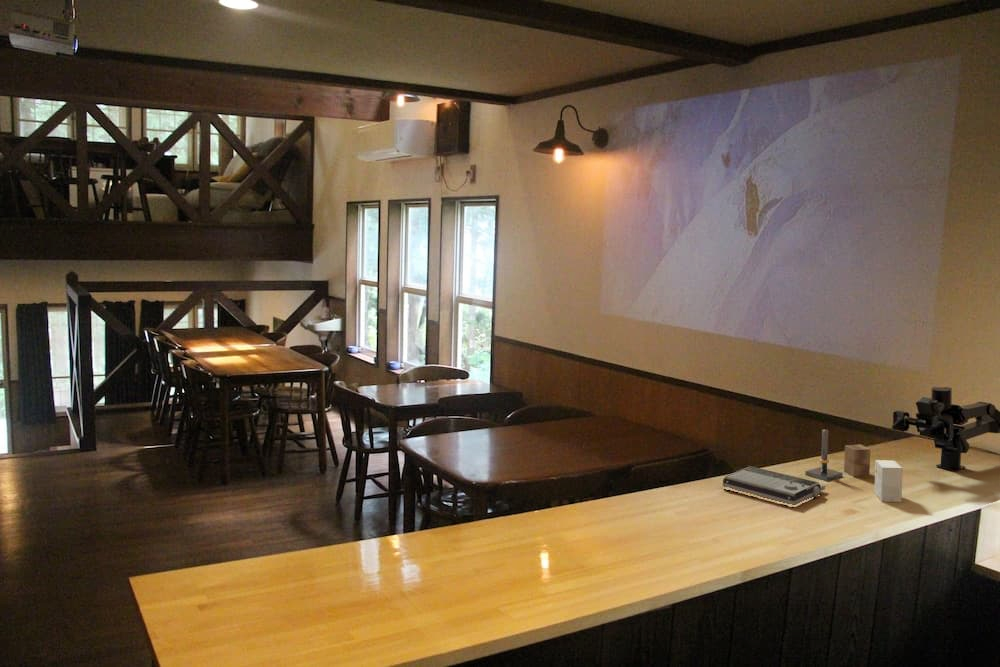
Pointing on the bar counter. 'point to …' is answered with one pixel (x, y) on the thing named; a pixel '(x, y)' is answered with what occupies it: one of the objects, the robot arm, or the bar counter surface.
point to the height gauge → (824, 463)
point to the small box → (888, 481)
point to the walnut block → (857, 460)
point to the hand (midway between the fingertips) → (906, 430)
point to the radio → (773, 485)
